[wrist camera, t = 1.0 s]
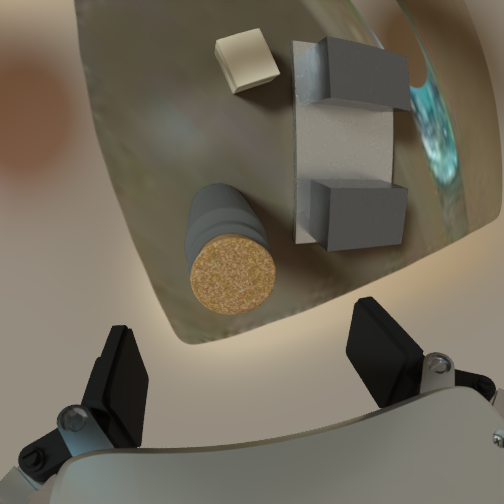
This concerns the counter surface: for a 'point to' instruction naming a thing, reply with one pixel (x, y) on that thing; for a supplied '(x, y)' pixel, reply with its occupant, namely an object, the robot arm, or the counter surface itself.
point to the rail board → (346, 143)
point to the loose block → (246, 60)
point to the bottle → (227, 252)
